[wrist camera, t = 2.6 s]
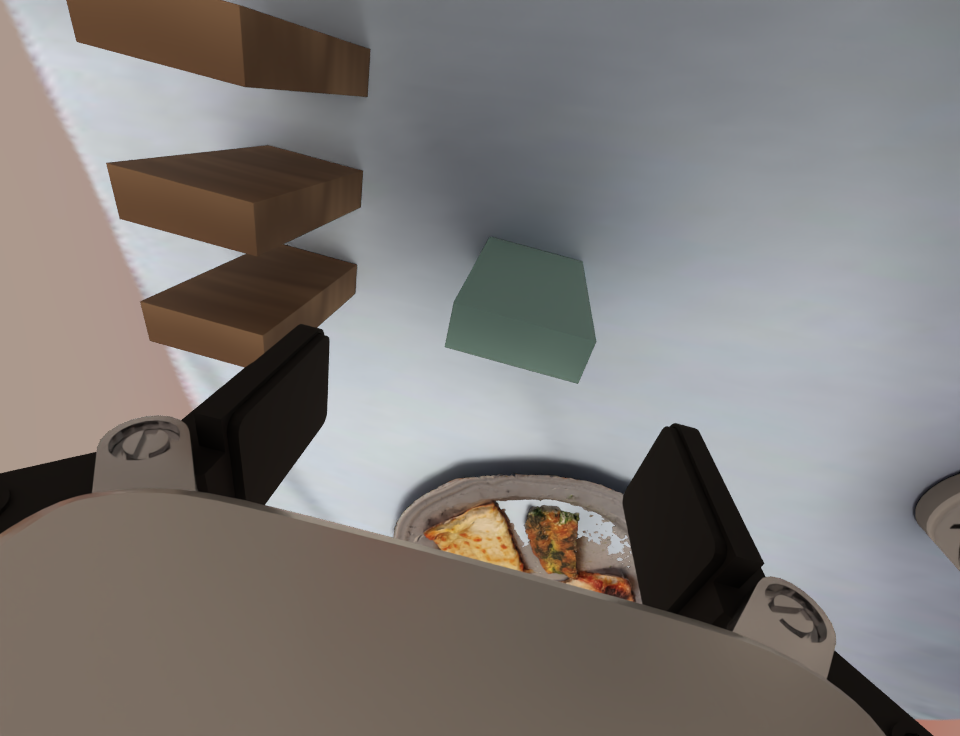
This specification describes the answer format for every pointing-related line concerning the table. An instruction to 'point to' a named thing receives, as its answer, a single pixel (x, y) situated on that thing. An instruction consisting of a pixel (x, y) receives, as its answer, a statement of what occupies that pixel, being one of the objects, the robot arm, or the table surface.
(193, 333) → the domino
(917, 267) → the table surface
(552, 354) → the domino
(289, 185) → the domino
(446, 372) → the table surface
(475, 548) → the food plate
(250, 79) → the domino
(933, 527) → the travel mug
